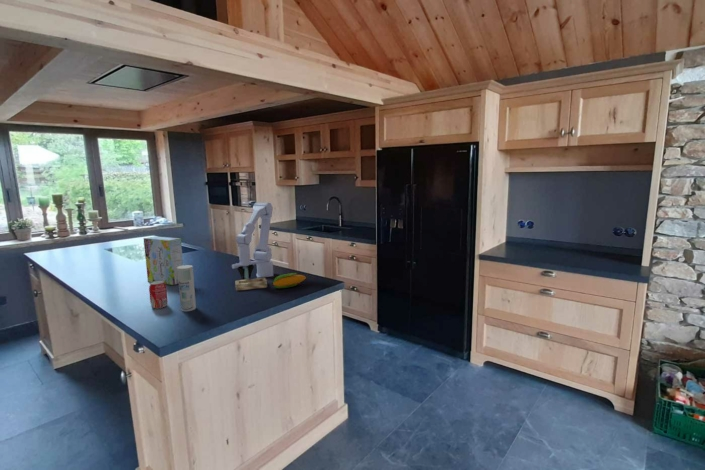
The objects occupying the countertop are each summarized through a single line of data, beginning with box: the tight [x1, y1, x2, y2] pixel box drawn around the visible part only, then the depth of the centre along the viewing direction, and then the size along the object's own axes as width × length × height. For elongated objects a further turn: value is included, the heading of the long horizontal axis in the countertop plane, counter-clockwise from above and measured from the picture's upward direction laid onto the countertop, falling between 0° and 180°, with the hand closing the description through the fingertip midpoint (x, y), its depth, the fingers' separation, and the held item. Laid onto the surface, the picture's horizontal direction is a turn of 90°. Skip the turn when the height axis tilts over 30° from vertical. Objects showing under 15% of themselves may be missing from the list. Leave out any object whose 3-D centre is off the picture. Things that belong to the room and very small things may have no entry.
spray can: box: [177, 264, 197, 312], centre depth 170 cm, size 6×6×20 cm
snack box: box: [143, 236, 184, 286], centre depth 212 cm, size 22×9×26 cm, turn 65°
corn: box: [272, 272, 307, 289], centre depth 203 cm, size 7×8×20 cm
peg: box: [243, 266, 249, 280], centre depth 209 cm, size 3×3×9 cm
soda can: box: [148, 280, 168, 310], centre depth 174 cm, size 7×7×12 cm
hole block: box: [234, 277, 268, 291], centre depth 203 cm, size 16×8×4 cm, turn 110°
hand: (246, 278), depth 209 cm, fingers closed on peg, 3 cm apart
